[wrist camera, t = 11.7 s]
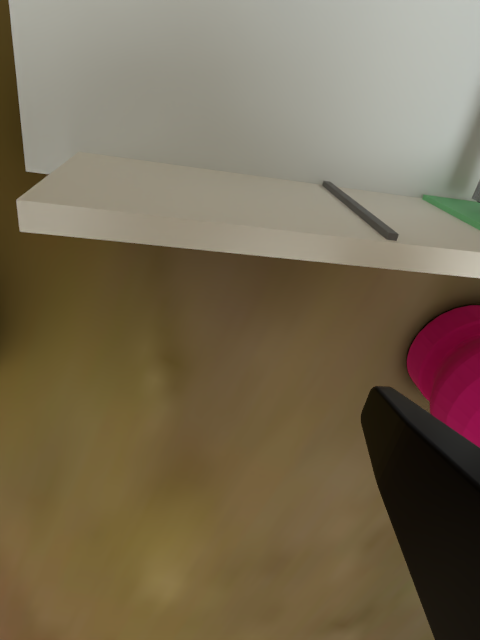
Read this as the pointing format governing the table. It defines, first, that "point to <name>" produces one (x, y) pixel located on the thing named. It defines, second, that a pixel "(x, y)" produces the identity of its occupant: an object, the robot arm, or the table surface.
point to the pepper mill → (450, 369)
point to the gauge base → (256, 127)
